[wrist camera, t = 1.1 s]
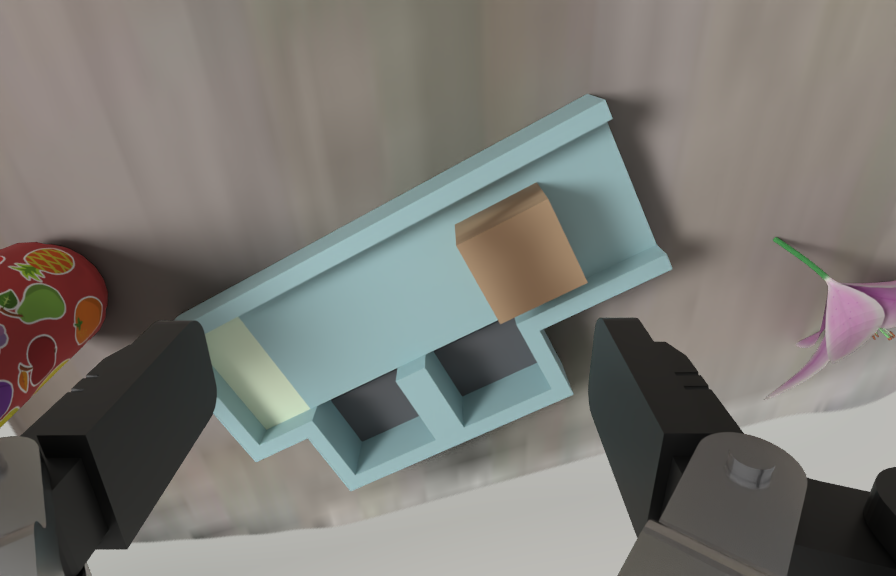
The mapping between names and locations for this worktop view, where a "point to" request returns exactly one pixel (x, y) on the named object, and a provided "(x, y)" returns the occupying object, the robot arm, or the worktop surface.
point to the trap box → (422, 310)
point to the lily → (844, 320)
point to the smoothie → (43, 316)
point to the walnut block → (519, 253)
